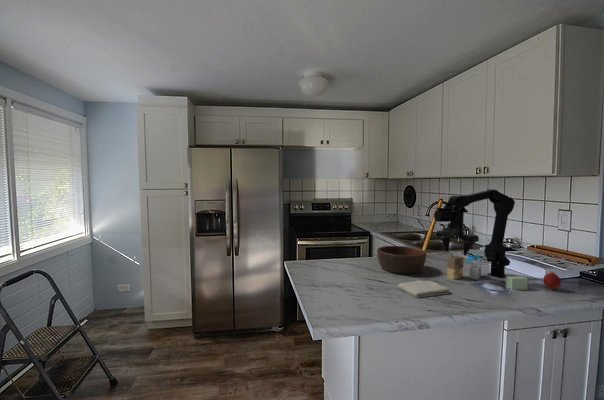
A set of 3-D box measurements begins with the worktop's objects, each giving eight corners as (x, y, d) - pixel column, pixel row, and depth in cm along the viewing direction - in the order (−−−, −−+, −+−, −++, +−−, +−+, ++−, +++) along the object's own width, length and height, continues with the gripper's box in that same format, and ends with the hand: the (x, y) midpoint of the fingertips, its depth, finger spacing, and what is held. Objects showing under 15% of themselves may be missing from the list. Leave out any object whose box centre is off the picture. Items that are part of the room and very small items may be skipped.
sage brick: (520, 287, 129) (521, 276, 128) (527, 289, 125) (527, 278, 125) (505, 287, 128) (506, 276, 128) (511, 290, 125) (512, 278, 124)
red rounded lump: (556, 288, 127) (557, 270, 127) (563, 292, 122) (564, 273, 121) (540, 286, 129) (541, 268, 129) (546, 291, 123) (547, 272, 123)
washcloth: (451, 294, 120) (451, 287, 120) (416, 299, 114) (416, 292, 114) (430, 285, 131) (430, 278, 131) (396, 289, 126) (397, 282, 126)
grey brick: (472, 274, 146) (473, 265, 146) (480, 276, 144) (481, 266, 144) (469, 278, 141) (469, 267, 141) (477, 279, 139) (478, 269, 138)
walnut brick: (456, 265, 144) (456, 255, 144) (463, 267, 141) (463, 257, 141) (447, 267, 141) (447, 257, 141) (454, 269, 138) (454, 259, 138)
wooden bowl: (368, 269, 154) (369, 250, 154) (388, 260, 173) (388, 243, 173) (416, 279, 138) (416, 258, 138) (432, 268, 157) (432, 249, 157)
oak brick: (455, 275, 144) (456, 265, 144) (462, 277, 141) (463, 267, 141) (446, 277, 141) (447, 267, 141) (453, 279, 138) (453, 269, 138)
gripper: (429, 220, 145) (428, 251, 145) (465, 224, 128) (464, 259, 129) (443, 219, 150) (442, 249, 151) (480, 223, 134) (478, 256, 134)
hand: (455, 253), depth 141 cm, fingers open, 9 cm apart
